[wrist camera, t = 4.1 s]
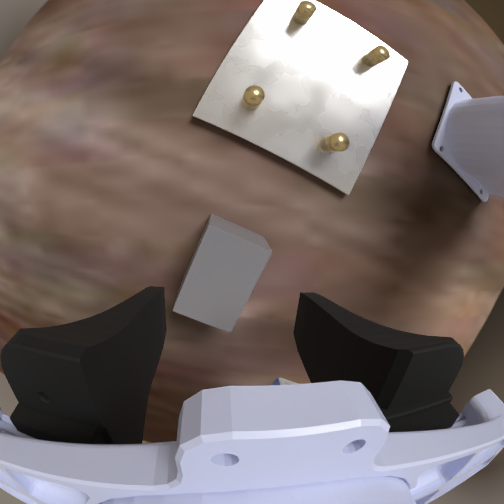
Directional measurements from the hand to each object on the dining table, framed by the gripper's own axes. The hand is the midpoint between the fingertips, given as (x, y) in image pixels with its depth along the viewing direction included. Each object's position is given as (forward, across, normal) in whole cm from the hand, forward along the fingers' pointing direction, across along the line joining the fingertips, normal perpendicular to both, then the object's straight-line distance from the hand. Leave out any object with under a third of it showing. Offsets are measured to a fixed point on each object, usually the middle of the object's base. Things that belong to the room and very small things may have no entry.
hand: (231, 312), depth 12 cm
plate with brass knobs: (+9, -5, -13) cm, 17 cm away
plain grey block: (+10, 0, +1) cm, 10 cm away
